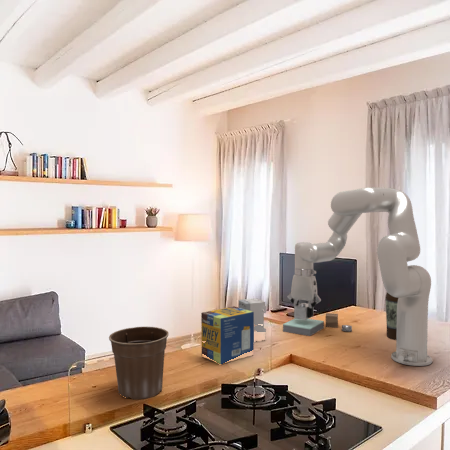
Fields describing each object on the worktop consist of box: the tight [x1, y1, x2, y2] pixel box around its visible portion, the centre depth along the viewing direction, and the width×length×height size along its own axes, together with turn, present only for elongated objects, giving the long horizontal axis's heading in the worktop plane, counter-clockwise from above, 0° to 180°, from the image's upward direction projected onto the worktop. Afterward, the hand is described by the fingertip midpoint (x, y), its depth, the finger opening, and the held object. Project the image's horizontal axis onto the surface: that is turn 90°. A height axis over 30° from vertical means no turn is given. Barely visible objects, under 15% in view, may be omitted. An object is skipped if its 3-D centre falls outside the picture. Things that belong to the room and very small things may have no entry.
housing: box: [293, 302, 315, 320], centre depth 189 cm, size 5×8×6 cm, turn 146°
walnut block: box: [325, 312, 339, 329], centre depth 195 cm, size 5×5×5 cm
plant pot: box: [108, 326, 169, 400], centre depth 127 cm, size 16×16×16 cm
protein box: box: [200, 305, 255, 365], centre depth 156 cm, size 10×15×16 cm
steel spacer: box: [341, 324, 353, 333], centre depth 187 cm, size 4×4×2 cm
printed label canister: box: [385, 291, 398, 341], centre depth 178 cm, size 11×11×25 cm
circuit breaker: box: [238, 298, 267, 333], centre depth 175 cm, size 8×14×15 cm, turn 111°
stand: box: [282, 318, 325, 337], centre depth 189 cm, size 14×12×3 cm
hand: (303, 315), depth 189 cm, fingers closed on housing, 5 cm apart
